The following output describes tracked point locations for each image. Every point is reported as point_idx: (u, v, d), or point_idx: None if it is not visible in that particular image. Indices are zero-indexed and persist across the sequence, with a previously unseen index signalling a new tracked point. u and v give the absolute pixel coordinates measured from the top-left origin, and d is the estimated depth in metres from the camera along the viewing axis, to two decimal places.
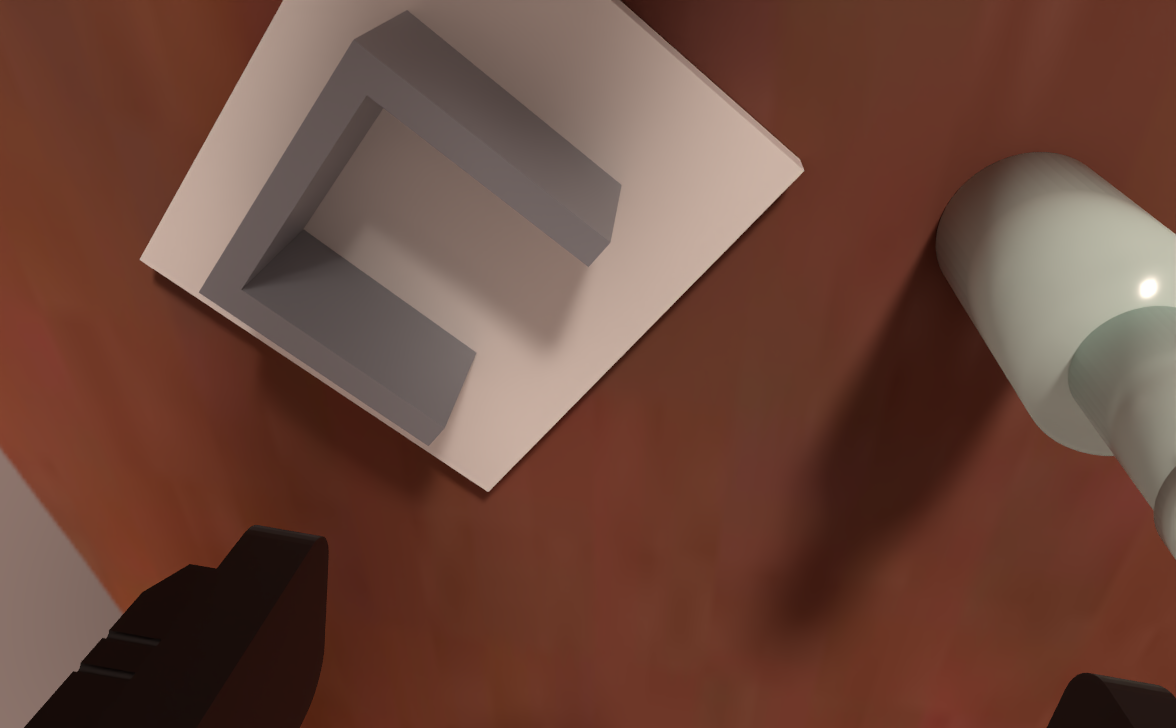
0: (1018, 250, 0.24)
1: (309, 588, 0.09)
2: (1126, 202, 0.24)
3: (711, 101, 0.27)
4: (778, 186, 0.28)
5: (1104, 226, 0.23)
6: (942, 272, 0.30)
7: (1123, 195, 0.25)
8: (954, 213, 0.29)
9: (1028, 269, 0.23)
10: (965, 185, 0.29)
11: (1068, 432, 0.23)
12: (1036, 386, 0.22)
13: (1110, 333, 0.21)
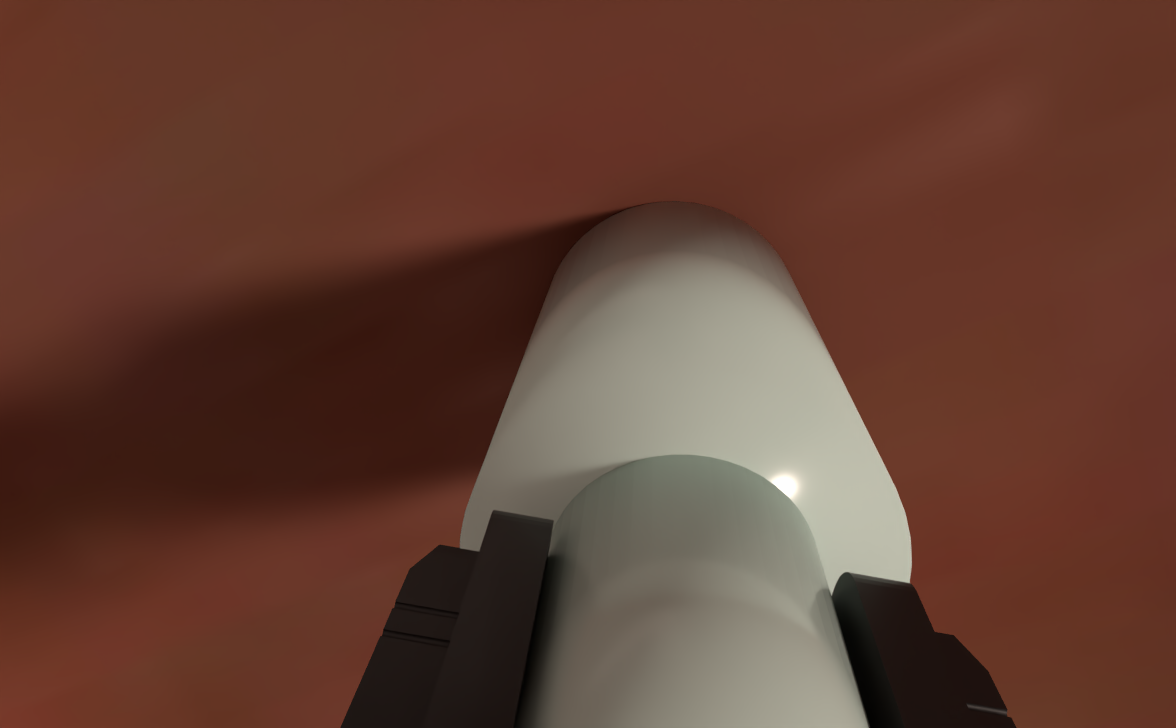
0: (700, 281, 0.13)
1: (544, 566, 0.10)
2: None
3: None
4: None
5: (826, 361, 0.12)
6: None
7: None
8: (649, 212, 0.17)
9: (696, 303, 0.12)
10: (690, 204, 0.18)
11: None
12: (534, 451, 0.10)
13: (720, 479, 0.10)
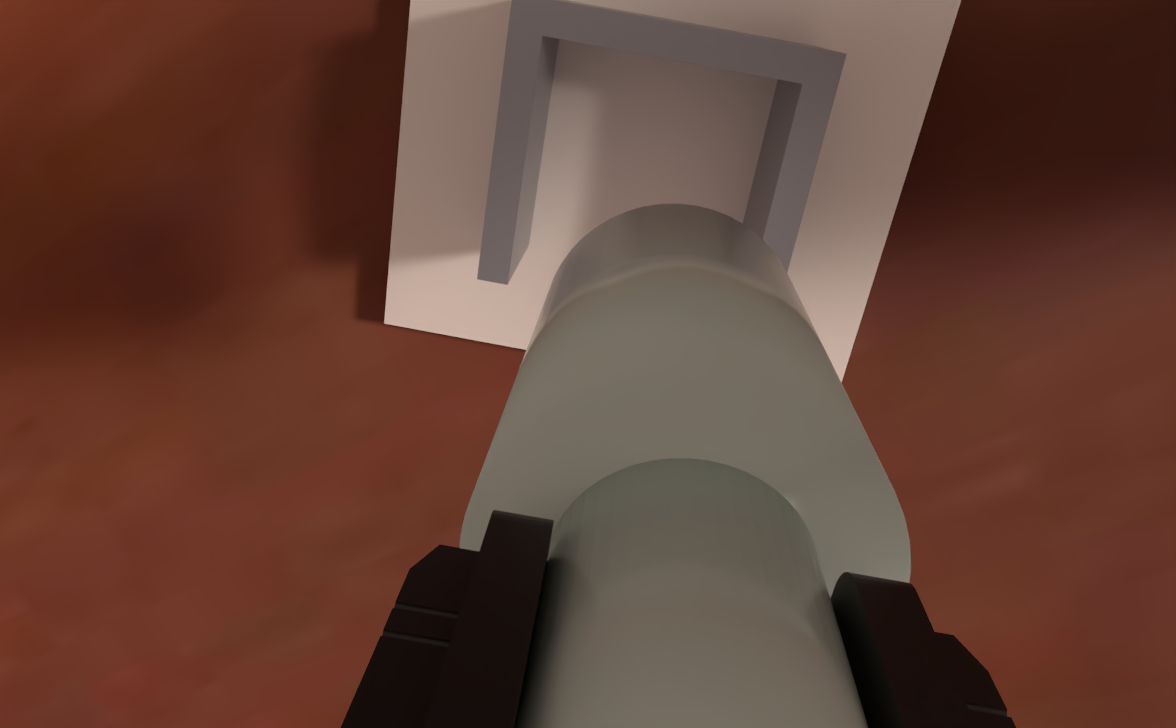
0: (700, 284, 0.13)
1: (545, 566, 0.10)
2: None
3: (854, 316, 0.32)
4: None
5: (825, 364, 0.12)
6: (556, 273, 0.19)
7: None
8: (648, 214, 0.17)
9: (695, 307, 0.12)
10: (690, 206, 0.18)
11: None
12: (533, 455, 0.10)
13: (719, 483, 0.10)
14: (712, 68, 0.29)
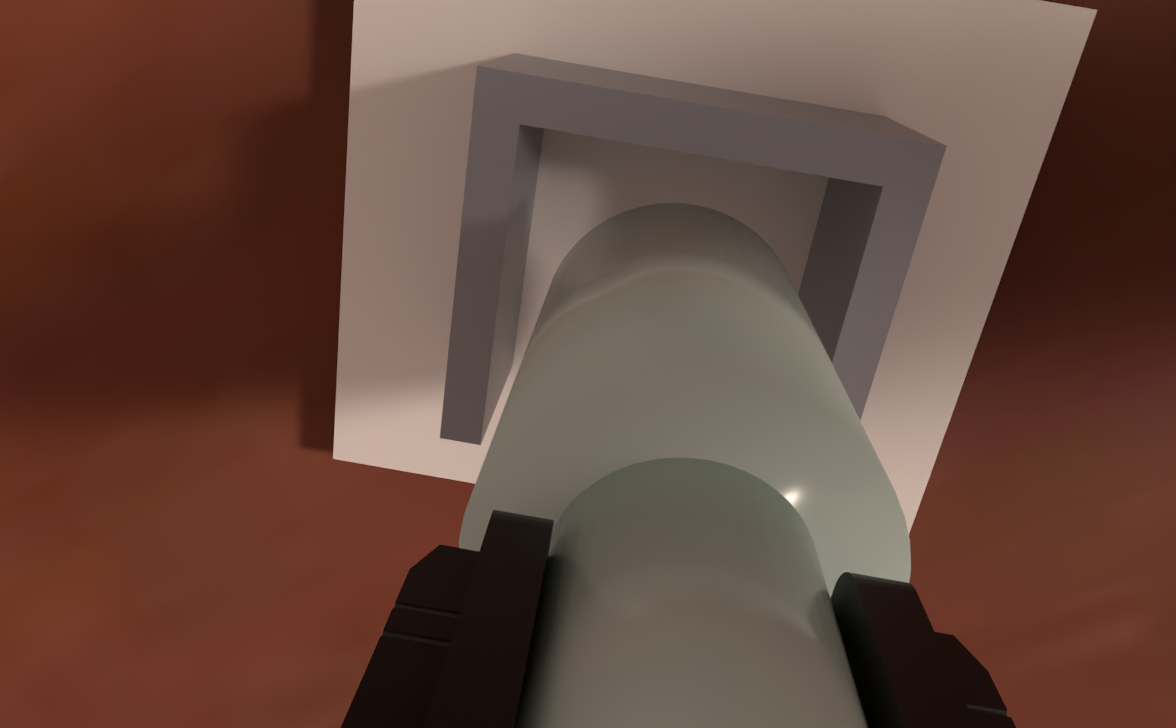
0: (699, 283, 0.13)
1: (545, 566, 0.10)
2: None
3: (928, 450, 0.25)
4: None
5: (825, 364, 0.12)
6: None
7: None
8: (648, 214, 0.17)
9: (695, 306, 0.12)
10: (690, 205, 0.18)
11: None
12: (533, 454, 0.10)
13: (719, 483, 0.10)
14: None
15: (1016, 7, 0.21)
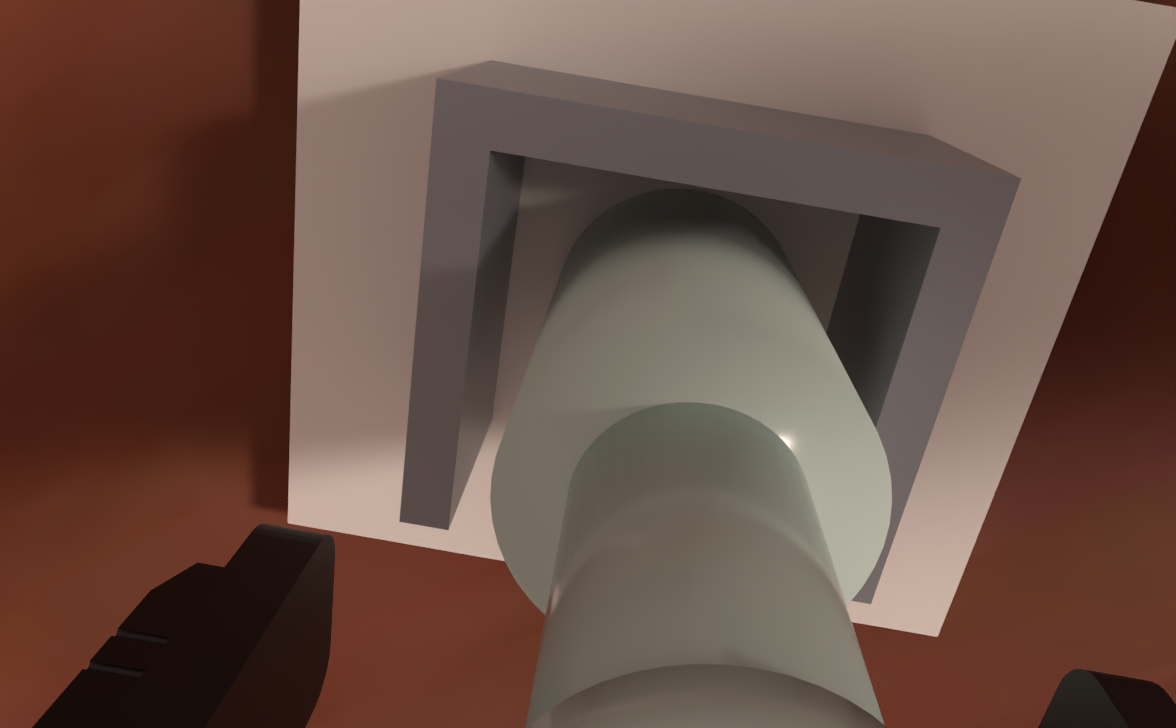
0: (704, 256, 0.14)
1: (315, 586, 0.09)
2: None
3: (972, 518, 0.22)
4: (907, 623, 0.23)
5: (817, 325, 0.14)
6: (569, 253, 0.20)
7: None
8: (655, 198, 0.19)
9: (700, 273, 0.13)
10: (694, 191, 0.19)
11: (516, 506, 0.12)
12: (558, 400, 0.12)
13: (722, 422, 0.11)
14: None
15: (1090, 6, 0.17)
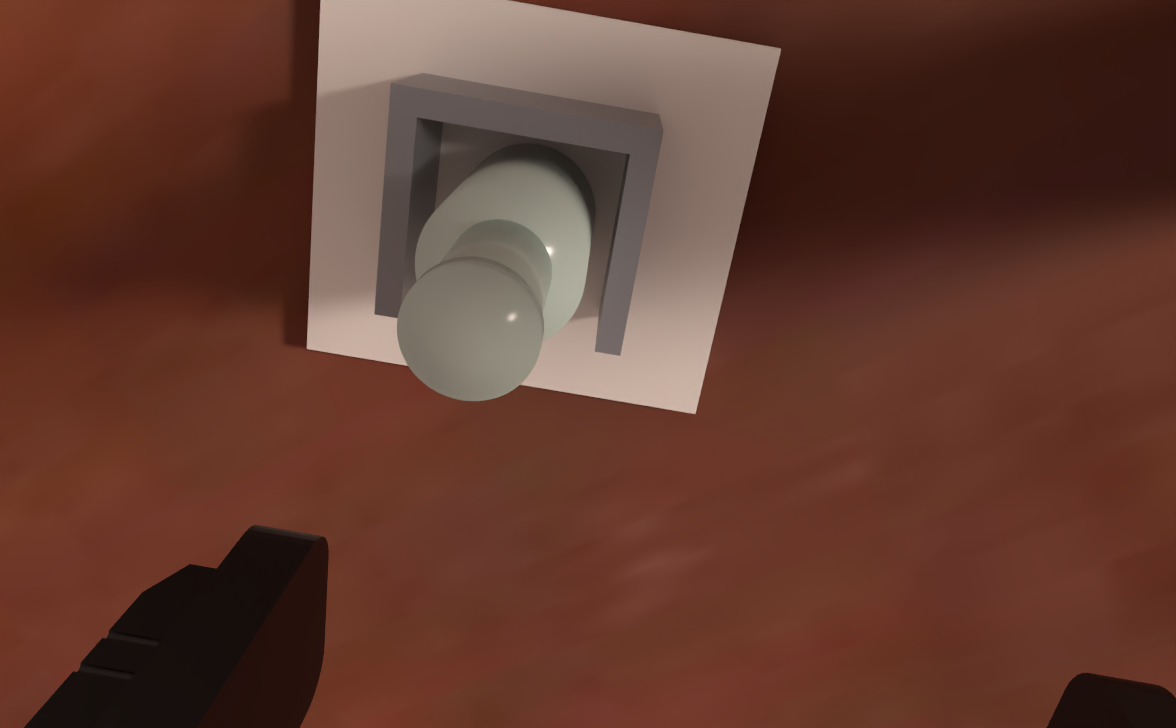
0: (518, 166, 0.30)
1: (308, 588, 0.09)
2: (589, 220, 0.32)
3: (706, 337, 0.38)
4: (677, 405, 0.40)
5: (567, 197, 0.30)
6: None
7: (592, 225, 0.33)
8: (512, 147, 0.35)
9: (511, 172, 0.29)
10: (535, 144, 0.35)
11: (426, 270, 0.28)
12: (442, 219, 0.28)
13: (508, 224, 0.27)
14: None
15: (732, 46, 0.34)
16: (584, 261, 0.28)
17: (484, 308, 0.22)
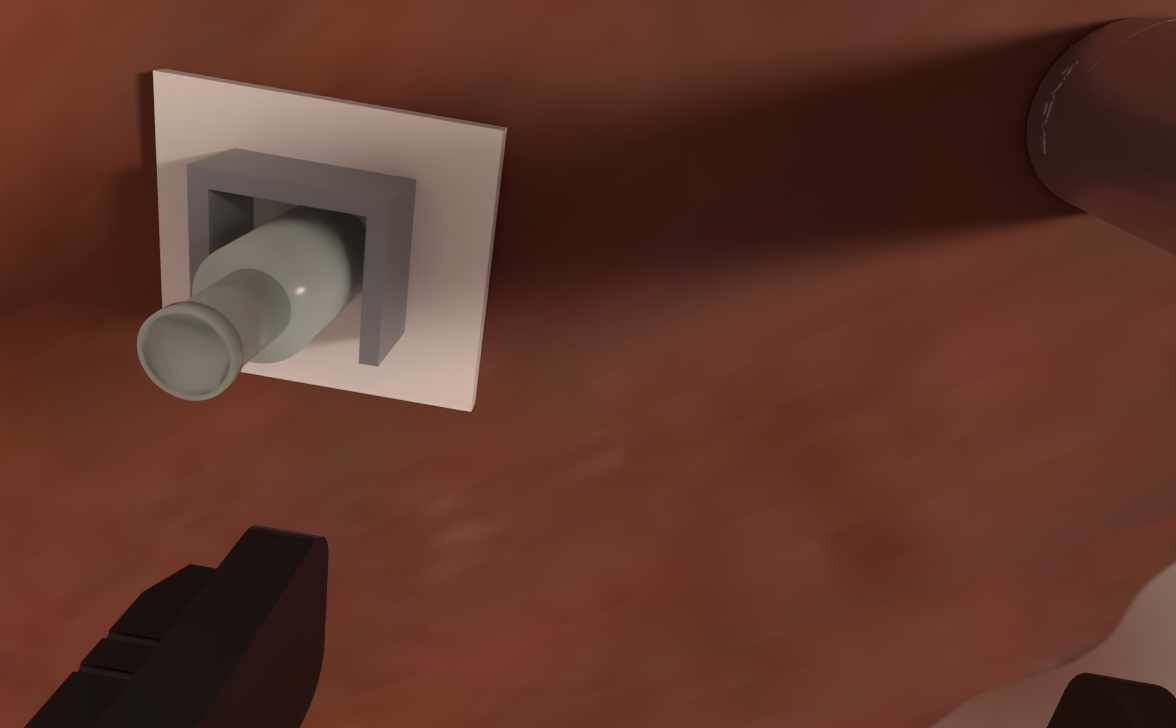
0: (281, 226, 0.40)
1: (308, 588, 0.09)
2: (346, 264, 0.42)
3: (472, 351, 0.48)
4: (455, 405, 0.50)
5: (314, 249, 0.40)
6: None
7: (355, 267, 0.43)
8: None
9: (270, 231, 0.39)
10: None
11: None
12: (208, 268, 0.38)
13: (251, 272, 0.37)
14: None
15: (466, 129, 0.44)
16: (313, 298, 0.38)
17: (193, 337, 0.33)
